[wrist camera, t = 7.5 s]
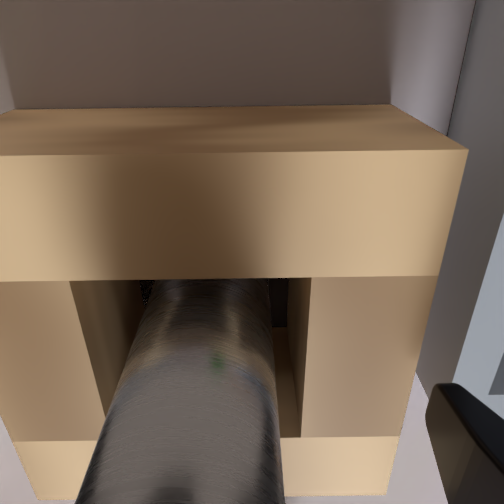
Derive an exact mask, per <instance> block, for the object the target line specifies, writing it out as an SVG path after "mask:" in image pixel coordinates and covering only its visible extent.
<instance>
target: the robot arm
mask: <svg viewBox="0 0 504 504" xmlns="http://www.w3.org/2000/svg"><path fill="white" fill-rule="evenodd" d="M425 420H426V426H427V430H428V433H429V437H430V441H431V444H432V448H433V451H434V455H435V459H436V462H437V466H438V469H439V473H440V476H441V480H442V484H443V487H444V491H445V494H446V498H447V501H448V504H504V419H503V418H501V417H500V416H499V415H498V414H496V413H495V412H494V411H493V410H491V409H490V408H489V407H488V406H486V405H485V404H484V403H483V402H481V401H480V400H479V399H478V398H476V397H475V396H474V395H473V394H471V393H470V392H469V391H468V390H466V389H465V388H464V387H462V386H461V385H459V384H457V383H437V384H435V385H434V386H433V388H432V391H431V395H430V398H429V402H428V406H427V409H426V414H425Z"/></svg>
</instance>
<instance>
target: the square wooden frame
mask: <svg viewBox="0 0 504 504" xmlns="http://www.w3.org/2000/svg"><path fill="white" fill-rule="evenodd" d="M468 151H469V149H467V148H466V147H464V146H462V145H460V144H459V143H457V142H455V141H454V140H452V139H450V138H448V137H447V136H445V135H443V134H441V133H440V132H438V131H436V130H435V129H433V128H431V127H429V126H428V125H426V124H424V123H422V122H421V121H419V120H417V119H416V118H414V117H412V116H410V115H409V114H407V113H405V112H404V111H402V110H400V109H398V108H397V107H395V106H393V105H391V104H388V105H314V106H241V107H167V108H93V109H20V110H11V111H9V112H6V113H3V114H1V115H0V415H1V418H2V420H3V422H4V424H5V427H6V429H7V431H8V433H9V436H10V438H11V440H12V443H13V445H14V447H15V449H16V452H17V454H18V456H19V458H20V461H21V463H22V465H23V467H24V470H25V472H26V474H27V476H28V479H29V481H30V483H31V485H32V488H33V490H34V492H35V495H36V497H37V499H38V500H72V499H77V496H78V493H79V490H80V488H81V485H82V482H83V479H84V477H85V474H86V471H87V468H88V466H89V463H90V460H91V457H92V454H93V452H94V449H95V446H96V443H97V441H98V438H99V435H100V432H101V430H102V427H103V424H104V421H105V418H106V416H107V413H108V410H109V407H110V405H111V402H112V399H113V396H114V393H115V391H116V388H117V385H118V382H119V380H120V377H121V374H122V371H123V369H124V366H125V363H126V360H127V357H128V355H129V352H130V349H131V346H132V344H133V341H134V338H135V335H136V333H137V330H138V327H139V324H140V321H141V319H142V316H143V313H144V304H143V298H142V292H141V286H140V280H158V279H230V278H289V284H288V311H287V327H272V338H273V351H274V365H275V378H276V391H277V404H278V417H279V430H280V444H281V457H282V470H283V483H284V496H352V495H386V491H387V487H388V483H389V479H390V475H391V471H392V467H393V462H394V458H395V454H396V450H397V446H398V442H399V438H400V433H401V429H402V425H403V421H404V417H405V413H406V408H407V404H408V400H409V396H410V392H411V388H412V384H413V379H414V375H415V371H416V367H417V363H418V359H419V355H420V350H421V346H422V342H423V338H424V334H425V330H426V326H427V321H428V317H429V313H430V309H431V305H432V301H433V297H434V292H435V288H436V284H437V280H438V276H439V272H440V267H441V263H442V259H443V255H444V251H445V247H446V243H447V238H448V234H449V230H450V226H451V222H452V218H453V214H454V209H455V205H456V201H457V197H458V193H459V189H460V185H461V180H462V176H463V172H464V168H465V164H466V160H467V155H468Z"/></svg>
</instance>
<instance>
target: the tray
mask: <svg viewBox="0 0 504 504" xmlns="http://www.w3.org/2000/svg"><path fill="white" fill-rule="evenodd" d="M447 137H448V138H450V139H452V140H454V141H455V142H457V143H459V144H460V145H462V146H464V147H466V148H467V149H469V151H468V155H467V160H466V164H465V168H464V172H463V176H462V180H461V185H460V189H459V193H458V197H457V201H456V205H455V209H454V214H453V218H452V222H451V226H450V230H449V234H448V238H447V243H446V247H445V251H444V255H443V259H442V263H441V267H440V272H439V276H438V280H437V284H436V288H435V292H434V297H433V301H432V305H431V309H430V313H429V317H428V321H427V326H426V330H425V334H424V338H423V342H422V346H421V350H420V355H419V359H418V363H417V367H416V373H417V375H418V377H419V380H420V382H421V384H422V386H423V388H424V390H425V392H426V394H427V396H428V398H430V395H431V391H432V388H433V386H434V385H435V384H437V383H457V384H459V385H461V386H462V387H464V388H465V389H466V390H468V391H469V392H470V393H471V394H473V395H474V396H475V397H476V398H478V399H479V400H480V401H481V402H483V403H484V404H485V405H486V406H488V407H489V408H490V409H491V410H493V411H494V412H495V413H496V414H498V415H499V416H500V417H501V418H503V419H504V0H476V4H475V8H474V13H473V18H472V22H471V27H470V32H469V37H468V41H467V46H466V51H465V55H464V60H463V65H462V70H461V74H460V79H459V84H458V88H457V93H456V98H455V102H454V107H453V112H452V117H451V121H450V126H449V131H448V135H447Z"/></svg>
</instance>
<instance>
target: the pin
mask: <svg viewBox="0 0 504 504" xmlns="http://www.w3.org/2000/svg"><path fill="white" fill-rule="evenodd" d="M75 504H285V496H284V483H283V470H282V457H281V444H280V430H279V417H278V404H277V391H276V378H275V365H274V351H273V338H272V325H271V312H270V299H269V286H268V278H230V279H158V280H155V283H154V285H153V288H152V291H151V294H150V297H149V299H148V302H147V305H146V308H145V310H144V313H143V316H142V319H141V321H140V324H139V327H138V330H137V333H136V335H135V338H134V341H133V344H132V346H131V349H130V352H129V355H128V357H127V360H126V363H125V366H124V369H123V371H122V374H121V377H120V380H119V382H118V385H117V388H116V391H115V393H114V396H113V399H112V402H111V405H110V407H109V410H108V413H107V416H106V418H105V421H104V424H103V427H102V430H101V432H100V435H99V438H98V441H97V443H96V446H95V449H94V452H93V454H92V457H91V460H90V463H89V466H88V468H87V471H86V474H85V477H84V479H83V482H82V485H81V488H80V490H79V493H78V496H77V499H76V502H75Z"/></svg>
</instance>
